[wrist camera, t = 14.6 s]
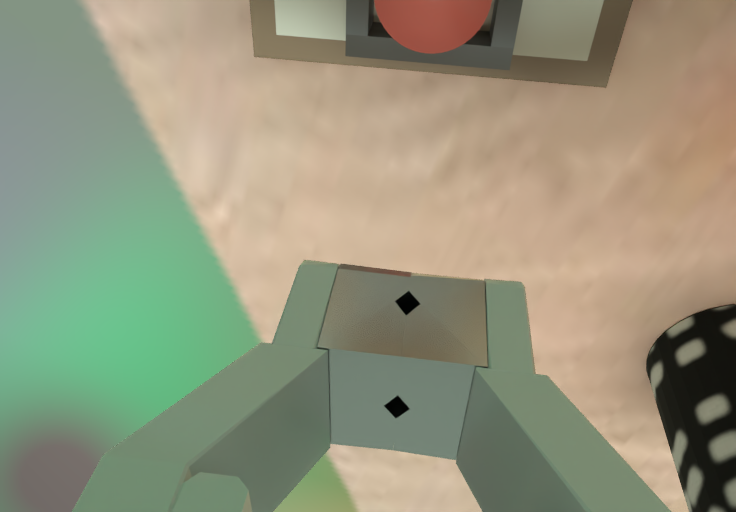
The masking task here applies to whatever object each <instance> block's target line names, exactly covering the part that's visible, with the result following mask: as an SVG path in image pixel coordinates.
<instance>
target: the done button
mask: <svg viewBox="0 0 736 512" xmlns="http://www.w3.org/2000/svg"><path fill="white" fill-rule="evenodd" d="M374 2H375V8H376V12H377V15H378V17H379V20H380V22H381V23H382V25H383V27H384V28H385V30H386V31H387V32H388V34H389V35H390V36H391V37H392V38H393V39H394V40H395V41H397V42H398V43H399V44H401V45H402V46H404V47H406V48H408V49H410V50H413V51H416V52H420V53H429V54H435V53H442V52H447V51H450V50H453V49H455V48H457V47H459V46H461V45H463V44H464V43H466V42H467V41H468V40H470V39H471V38H472V37H473V36H474V35H475V34H476V33H477V32H478V30H479V29H480V28H481V26H482V25H483V23H484V22H485V20H486V18H487V16H488V13H489V10H490V7H491V3H492V0H374Z"/></svg>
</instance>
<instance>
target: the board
mask: <svg viewBox="0 0 736 512" xmlns="http://www.w3.org/2000/svg"><path fill="white" fill-rule="evenodd" d="M632 1H633V0H492V3H491V7H490V10H489V13H488V16H487V18H486V20H485V22H484V23H483V25H482V26H481V28H480V29H479V30H478V32H477V33H476V34H475V35H474V36H473V37H472V38H471V39H470V40H468V41H467V42H466V43H464V44H463V45H461V46H459V47H457V48H455V49H453V50H450V51H447V52H442V53H435V54H429V53H420V52H416V51H413V50H410V49H408V48H406V47H404V46H402V45H401V44H399V43H398V42H397V41H395V40H394V39H393V38H392V37H391V36H390V35H389V34H388V32H387V31H386V30H385V28H384V27H383V25H382V23H381V22H380V20H379V17H378V15H377V12H376V8H375V2H374V0H250V11H251V23H252V35H253V47H254V57H262V58H274V59H285V60H297V61H308V62H319V63H331V64H342V65H354V66H365V67H377V68H388V69H400V70H411V71H422V72H434V73H445V74H457V75H468V76H480V77H491V78H503V79H514V80H525V81H537V82H548V83H560V84H571V85H583V86H594V87H605V88H606V86H607V83H608V79H609V76H610V73H611V70H612V66H613V63H614V60H615V56H616V53H617V50H618V47H619V43H620V40H621V37H622V34H623V30H624V27H625V24H626V20H627V17H628V14H629V11H630V7H631V4H632Z"/></svg>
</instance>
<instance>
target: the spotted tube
mask: <svg viewBox="0 0 736 512" xmlns="http://www.w3.org/2000/svg"><path fill="white" fill-rule="evenodd" d="M647 373H648V377H649V380H650V383H651V387H652V390H653V393H654V397H655V400H656V403H657V407H658V410H659V413H660V416H661V420H662V423H663V426H664V430H665V433H666V436H667V440H668V443H669V446H670V450H671V453H672V456H673V459H674V463H675V466H676V469H677V473H678V476H679V479H680V483H681V486H682V489H683V493H684V496H685V499H686V502H687V506H688V509H689V512H736V305H729V306H723V307H719V308H714V309H709V310H707V311H704V312H701V313H698V314H695V315H692V316H690V317H689V318H687V319H685V320H683V321H681V322H679V323H677V324H676V325H674V326H673V327H671V328H670V329H669V330H667V331H666V332H665V333H664V334H663V335H662V336H661V337H660V338H659V339H658V340H657V341H656V342H655V344H654V345H653V347H652V348H651V350H650V352H649V355H648V358H647Z"/></svg>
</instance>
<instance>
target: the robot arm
mask: <svg viewBox="0 0 736 512" xmlns="http://www.w3.org/2000/svg"><path fill="white" fill-rule="evenodd" d="M330 444H338V445H348V446H357V447H367V448H377V449H387V450H395V451H402V452H408V453H414V454H421V455H427V456H434V457H440V458H447V459H453V460H457V461H456V464H457V466H458V468H459V469H460V471H461V473H462V475H463V477H464V478H465V480H466V482H467V484H468V486H469V488H470V489H471V491H472V493H473V495H474V497H475V499H476V500H477V502H478V504H479V506H480V508H481V509H482V511H483V512H671V511H670V510H669V509H668V507H667V506H666V505H665V504H664V503H663V502H662V501H661V500H660V499H659V498H658V496H657V495H656V494H655V493H654V492H653V491H652V490H651V489H650V488H649V487H648V485H647V484H646V483H645V482H644V481H643V480H642V479H641V478H640V477H639V476H638V474H637V473H636V472H635V471H634V470H633V469H632V468H631V467H630V466H629V465H628V463H627V462H626V461H625V460H624V459H623V458H622V457H621V456H620V455H619V454H618V453H617V451H616V450H615V449H614V448H613V447H612V446H611V445H610V444H609V443H608V442H607V440H606V439H605V438H604V437H603V436H602V435H601V434H600V433H599V432H598V431H597V429H596V428H595V427H594V426H593V425H592V424H591V423H590V422H589V421H588V420H587V418H586V417H585V416H584V415H583V414H582V413H581V412H580V411H579V410H578V409H577V407H576V406H575V405H574V404H573V403H572V402H571V401H570V400H569V399H568V398H567V396H566V395H565V394H564V393H563V392H562V391H561V390H560V389H559V388H558V387H557V386H556V384H555V383H554V382H553V381H552V380H551V379H550V378H549V377H548V376H546V375H538V374H535V366H534V357H533V349H532V341H531V333H530V325H529V317H528V309H527V301H526V293H525V286H524V285H523V284H522V282H516V281H504V280H491V279H484V280H480V279H470V278H460V277H450V276H439V275H429V274H419V273H411V272H403V271H395V270H387V269H379V268H371V267H363V266H355V265H347V264H340V265H339V264H335V263H327V262H319V261H310V260H304V261H303V263H302V264H301V265H300V266H299V268H298V271H297V274H296V277H295V280H294V282H293V285H292V288H291V291H290V294H289V297H288V299H287V302H286V305H285V308H284V311H283V314H282V316H281V319H280V322H279V325H278V328H277V331H276V333H275V336H274V339H273V342H272V344H271V343H259V344H258V345H257V346H255V347H254V348H252V349H251V350H250V351H248V352H247V353H245V354H244V355H243V356H241V357H240V358H238V359H237V360H236V361H234V362H233V363H231V364H230V365H229V366H227V367H226V368H224V369H223V370H221V371H220V372H219V373H217V374H216V375H214V376H213V377H212V378H210V379H209V380H208V381H206V382H205V383H203V384H202V385H200V386H199V387H198V388H197V389H195V390H193V391H192V392H191V393H189V394H188V395H187V396H185V397H184V398H182V399H181V400H180V401H178V402H177V403H175V404H174V405H172V406H171V407H170V408H168V409H167V410H165V411H164V412H163V413H161V414H160V415H158V416H157V417H156V418H154V419H153V420H151V421H150V422H148V423H147V424H146V425H144V426H143V427H141V428H140V429H139V430H137V431H136V432H134V433H133V434H132V435H130V436H129V437H127V438H126V439H125V440H123V441H122V442H120V443H119V444H118V445H116V446H115V447H113V448H112V449H111V450H109V451H108V452H107V453H105V454H104V455H103V456H102V458H101V460H100V461H99V463H98V465H97V467H96V469H95V470H94V472H93V474H92V476H91V478H90V480H89V482H88V483H87V485H86V487H85V489H84V490H83V493H82V494H81V496H80V498H79V500H78V501H77V503H76V505H75V507H74V509H73V510H72V512H273V511H274V510H275V509H276V508H277V506H278V505H279V504H280V503H281V502H282V501H283V500H284V499H285V498H286V496H287V495H288V494H289V493H290V492H291V491H292V490H293V489H294V487H295V486H296V485H297V484H298V483H299V482H300V481H301V480H302V478H303V477H304V476H305V475H306V474H307V473H308V472H309V470H311V468H312V467H313V466H314V465H315V464H316V463H317V462H318V461H319V459H320V458H321V457H322V456H323V455H324V454H325V453H326V452H327V450H328V449H329V448H330ZM393 445H394V446H393Z"/></svg>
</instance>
